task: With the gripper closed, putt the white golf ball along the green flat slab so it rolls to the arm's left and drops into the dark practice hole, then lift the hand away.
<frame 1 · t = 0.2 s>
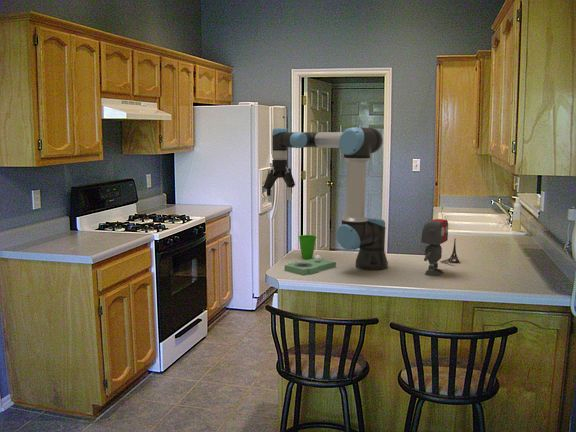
hand: (279, 201, 287), 28 cm above the countertop, tool pointing down, fingers open, 13 cm apart
ball: (317, 258, 265), point 4 cm above the countertop, touching green flat slab
green flat slab: (310, 268, 262), on the countertop
eiffel tower figurine: (453, 263, 278), on the countertop
cup: (307, 258, 284), on the countertop
toy robot: (433, 273, 255), on the countertop
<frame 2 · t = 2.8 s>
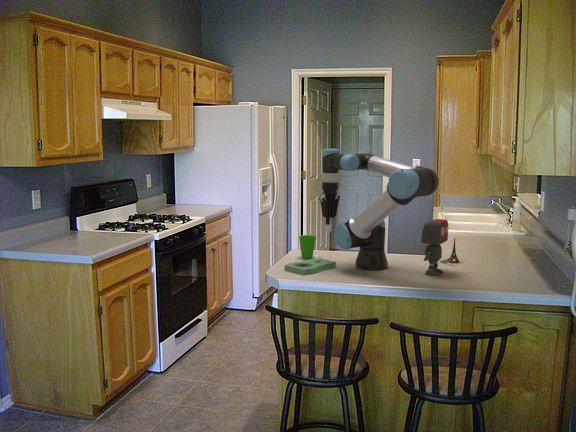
hand: (329, 231, 269), 16 cm above the countertop, tool pointing down, fingers closed
nothing on the countertop moved.
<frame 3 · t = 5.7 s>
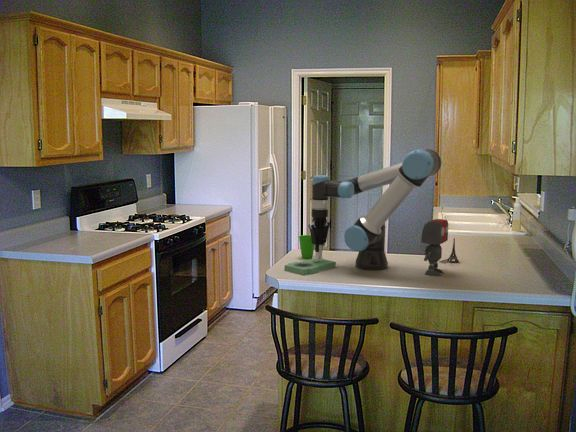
hand: (318, 258, 266), 4 cm above the countertop, tool pointing down, fingers closed
ball: (315, 258, 264), point 4 cm above the countertop, tilted 49°, touching green flat slab
everything else where it was.
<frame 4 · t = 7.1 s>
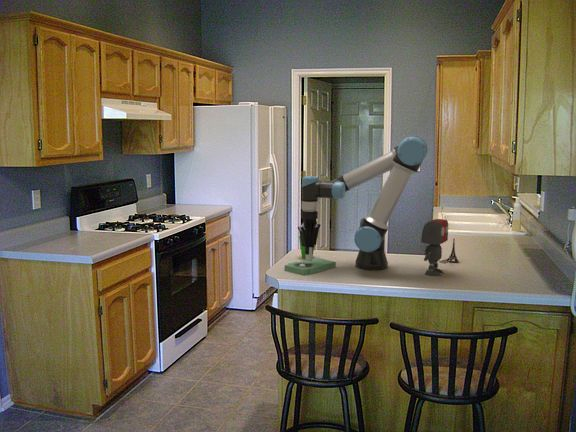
hand: (308, 260, 261), 4 cm above the countertop, tool pointing down, fingers closed
ball: (302, 267, 258), point 2 cm above the countertop, tilted 61°
everything else where it was.
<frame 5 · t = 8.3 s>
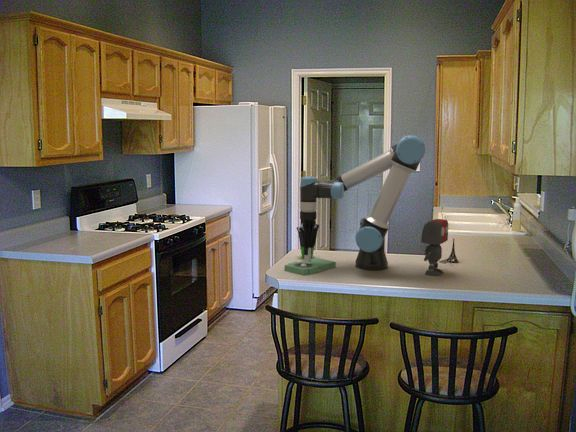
hand: (307, 261, 260), 4 cm above the countertop, tool pointing down, fingers closed
ball: (303, 267, 258), point 2 cm above the countertop, tilted 41°
everything else where it was.
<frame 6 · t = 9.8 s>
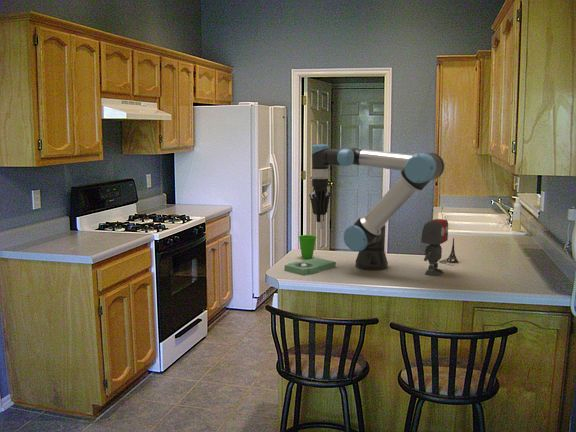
hand: (320, 228, 264), 18 cm above the countertop, tool pointing down, fingers closed
nothing on the countertop moved.
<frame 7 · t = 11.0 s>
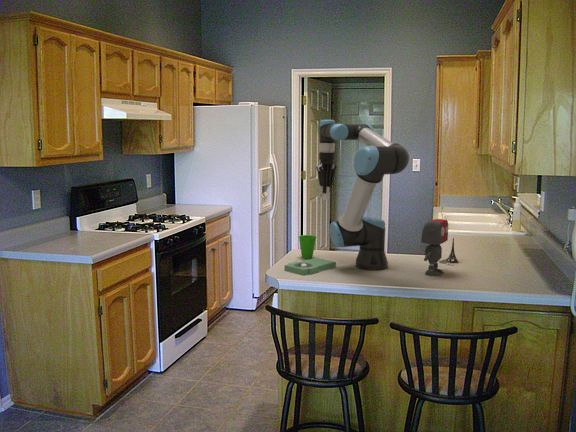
hand: (325, 199, 279), 29 cm above the countertop, tool pointing down, fingers closed
nothing on the countertop moved.
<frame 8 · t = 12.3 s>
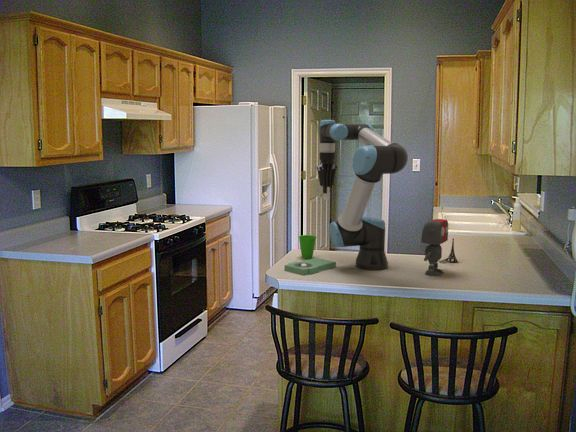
hand: (326, 199, 280), 29 cm above the countertop, tool pointing down, fingers closed
nothing on the countertop moved.
at the end: ball 0.5 cm from the target spot on the green flat slab, point 1.6 cm above the green flat slab's base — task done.
